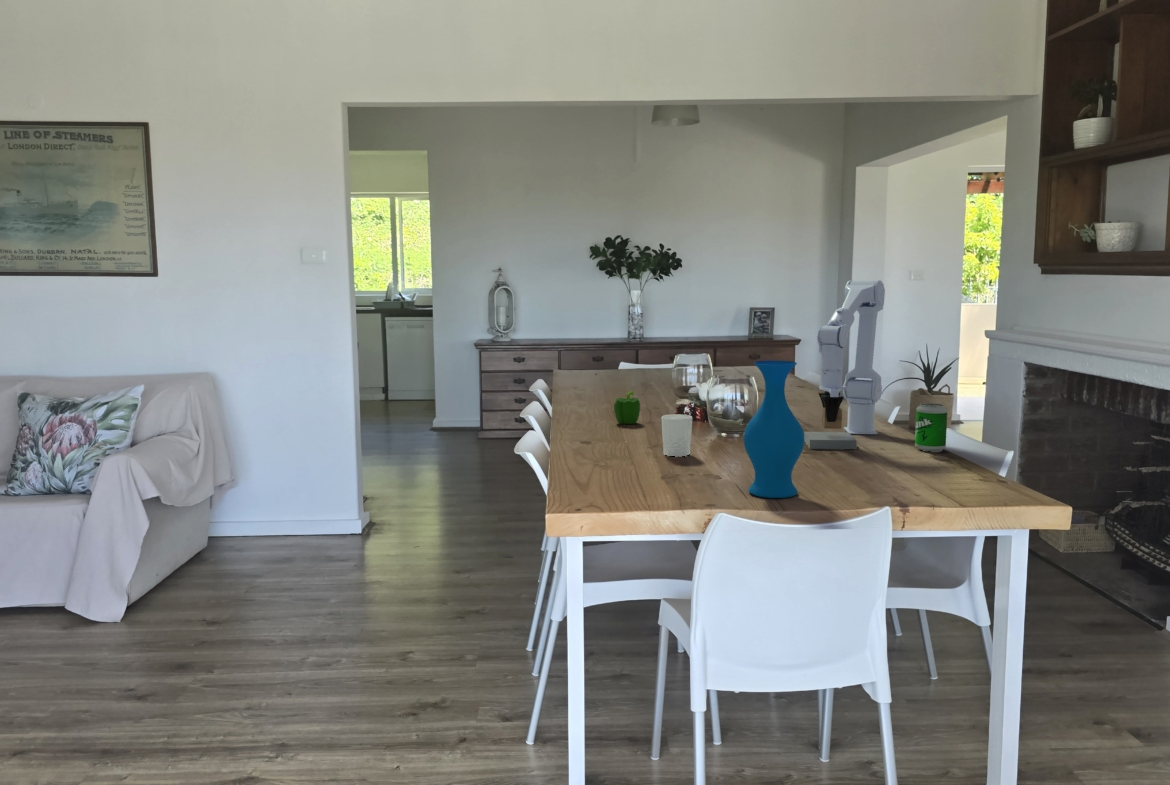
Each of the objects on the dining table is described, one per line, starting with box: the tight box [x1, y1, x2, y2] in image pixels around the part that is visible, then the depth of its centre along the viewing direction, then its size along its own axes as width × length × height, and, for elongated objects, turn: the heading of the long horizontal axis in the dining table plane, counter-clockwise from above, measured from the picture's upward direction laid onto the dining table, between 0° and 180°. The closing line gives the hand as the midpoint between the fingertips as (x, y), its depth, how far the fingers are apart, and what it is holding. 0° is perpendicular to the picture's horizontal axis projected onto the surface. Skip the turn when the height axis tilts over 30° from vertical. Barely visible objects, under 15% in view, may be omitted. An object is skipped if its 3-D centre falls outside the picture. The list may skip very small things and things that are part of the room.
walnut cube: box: [821, 407, 843, 430], centre depth 236 cm, size 4×4×5 cm
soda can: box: [914, 402, 948, 453], centre depth 228 cm, size 8×8×12 cm
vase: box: [743, 360, 805, 499], centre depth 183 cm, size 12×13×28 cm
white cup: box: [660, 413, 693, 458], centre depth 225 cm, size 8×8×10 cm
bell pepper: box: [613, 391, 641, 425], centre depth 273 cm, size 8×8×10 cm
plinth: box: [803, 431, 858, 450], centre depth 237 cm, size 12×12×2 cm
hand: (830, 420), depth 236 cm, fingers closed on walnut cube, 4 cm apart
